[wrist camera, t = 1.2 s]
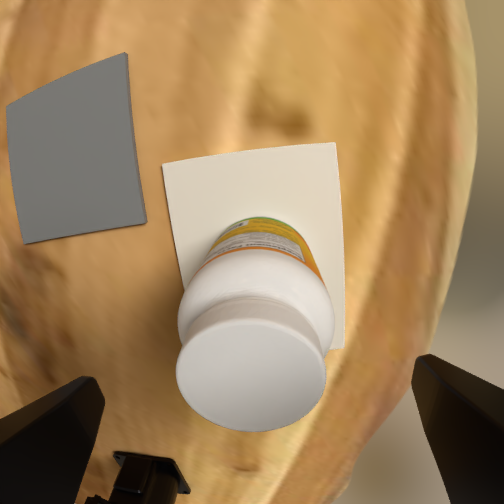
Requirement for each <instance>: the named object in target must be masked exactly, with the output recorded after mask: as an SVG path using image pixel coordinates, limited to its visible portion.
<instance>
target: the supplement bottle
mask: <svg viewBox="0 0 504 504" xmlns="http://www.w3.org/2000/svg"><path fill="white" fill-rule="evenodd" d="M334 330H335V316H334V309H333V306H332V302H331V299H330V296H329V293H328V291H327V288H326V286H325V284H324V281H323V279H322V277H321V274H320V272H319V269H318V267H317V265H316V263H315V260H314V258H313V255H312V253H311V251H310V249H309V246H308V245H307V243H306V241H305V240H304V238H303V237H302V235H301V234H300V233H299V232H298V231H297V230H296V229H295V228H293V227H292V226H291V225H289V224H287V223H286V222H283V221H281V220H279V219H276V218H272V217H266V216H255V217H249V218H245V219H242V220H240V221H238V222H235V223H234V224H232V225H231V226H229V227H228V228H227V229H226V230H224V231H223V232H222V234H221V235H220V236H219V237H218V238H217V240H216V241H215V242H214V244H213V245H212V247H211V249H210V250H209V252H208V254H207V255H206V257H205V258H204V260H203V262H202V263H201V265H200V267H199V268H198V270H197V271H196V273H195V274H194V276H193V277H192V279H191V280H190V282H189V284H188V286H187V288H186V290H185V292H184V294H183V297H182V300H181V302H180V306H179V311H178V332H179V337H180V341H181V344H182V348H181V351H180V353H179V356H178V359H177V364H176V380H177V384H178V387H179V390H180V392H181V394H182V396H183V398H184V399H185V400H186V402H187V403H188V404H189V405H190V407H191V408H192V409H194V410H195V411H196V412H197V413H198V414H199V415H201V416H202V417H203V418H205V419H207V420H209V421H211V422H212V423H214V424H217V425H219V426H222V427H225V428H228V429H232V430H237V431H245V432H263V431H270V430H275V429H279V428H282V427H285V426H288V425H290V424H292V423H294V422H296V421H298V420H299V419H301V418H302V417H304V416H305V415H306V414H308V413H309V412H310V411H311V410H312V409H313V408H314V407H315V405H316V404H317V403H318V401H319V399H320V398H321V396H322V394H323V391H324V388H325V384H326V366H325V361H324V358H325V356H326V355H327V353H328V351H329V349H330V346H331V344H332V340H333V336H334Z"/></svg>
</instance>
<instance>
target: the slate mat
mask: <svg viewBox="0 0 504 504" xmlns="http://www.w3.org/2000/svg"><path fill="white" fill-rule="evenodd" d="M6 117H7V138H8V152H9V162H10V171H11V179H12V186H13V193H14V199H15V205H16V210H17V215H18V220H19V225H20V230H21V234H22V239H23V243H24V244H27V243H32V242H37V241H43V240H48V239H53V238H59V237H64V236H70V235H76V234H81V233H87V232H93V231H99V230H105V229H111V228H117V227H124V226H130V225H137V224H143V223H146V222H147V216H146V211H145V205H144V199H143V193H142V187H141V180H140V174H139V167H138V160H137V152H136V144H135V136H134V127H133V118H132V108H131V97H130V85H129V70H128V54H127V53H125V52H124V53H121V54H118V55H115V56H113V57H110V58H107V59H104V60H102V61H99V62H96V63H94V64H91V65H89V66H86V67H84V68H81V69H79V70H77V71H74V72H72V73H70V74H68V75H65V76H63V77H61V78H59V79H57V80H55V81H52V82H50V83H48V84H46V85H44V86H42V87H40V88H38V89H36V90H35V91H33V92H31V93H29V94H27V95H25V96H23V97H22V98H20V99H18V100H16V101H15V102H13V103H11V104H9V105H8V106H6Z"/></svg>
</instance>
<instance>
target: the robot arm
mask: <svg viewBox="0 0 504 504" xmlns="http://www.w3.org/2000/svg"><path fill="white" fill-rule="evenodd" d="M411 385H412V390H413V393H414V396H415V400H416V403H417V407H418V410H419V414H420V417H421V421H422V425H423V428H424V432H425V434H426V437H427V440H428V442H429V445H430V447H431V450H432V453H433V455H434V458H435V460H436V463H437V466H438V468H439V471H440V474H441V477H442V479H443V482H444V485H445V488H446V491H447V494H448V497H449V500H450V503H451V504H504V389H501V388H499V387H497V386H495V385H493V384H491V383H489V382H487V381H485V380H483V379H481V378H479V377H477V376H475V375H473V374H471V373H469V372H466V371H465V370H463V369H461V368H459V367H457V366H454V365H452V364H450V363H448V362H446V361H444V360H442V359H440V358H438V357H436V356H434V355H432V354H427V355H422V356H419V357H417V358H416V361H415V365H414V370H413V375H412V381H411ZM104 406H105V398H104V396H103V394H102V392H101V389H100V387H99V385H98V383H97V381H96V379H95V378H93V377H89V376H81V377H79V378H77V379H75V380H73V381H71V382H70V383H68V384H66V385H64V386H62V387H60V388H58V389H57V390H55V391H53V392H51V393H49V394H47V395H45V396H44V397H42V398H40V399H38V400H36V401H34V402H32V403H30V404H28V405H27V406H25V407H23V408H21V409H19V410H17V411H15V412H13V413H11V414H9V415H7V416H5V417H4V418H2V419H0V504H74V503H75V500H76V497H77V494H78V491H79V488H80V485H81V482H82V479H83V476H84V473H85V470H86V467H87V464H88V461H89V459H90V456H91V453H92V450H93V447H94V444H95V441H96V437H97V433H98V429H99V425H100V421H101V417H102V414H103V410H104ZM113 457H114V458H115V460H116V461H117V462H118V464H119V465H120V467H121V469H120V471H119V474H118V476H117V478H116V481H115V483H114V485H113V487H114V488H113V490H112V493H111V495H110V498H109V500H108V501H107V500H105V499H103V498H101V496H98V495H96V494H95V496H94V497H87V499H86V501H85V503H84V504H175V501H176V497H177V493H179V494H190V492H191V489H190V488H189V486H188V484H187V483H186V481H185V479H184V477H183V475H182V474H181V472H180V470H179V468H178V466H177V465H176V463H175V461H173V460H171V459H165V458H156V457H148V456H141V455H134V454H128V453H122V452H114V454H113Z"/></svg>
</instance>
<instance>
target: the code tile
mask: <svg viewBox="0 0 504 504" xmlns="http://www.w3.org/2000/svg"><path fill="white" fill-rule="evenodd" d="M162 168H163V175H164V181H165V188H166V194H167V200H168V207H169V213H170V218H171V224H172V230H173V235H174V241H175V246H176V251H177V256H178V262H179V267H180V272H181V276H182V281H183V286H184V291H185V290H186V288H187V286H188V284H189V282H190V280H191V279H192V277H193V276H194V274H195V273H196V271H197V270H198V268H199V267H200V265H201V263H202V262H203V260H204V258H205V257H206V255H207V254H208V252H209V250H210V249H211V247H212V245H213V244H214V242H215V241H216V240H217V238H218V237H219V236H220V235H221V234H222V232H223V231H224V230H226V229H227V228H228V227H229V226H231V225H232V224H234V223H235V222H238V221H240V220H242V219H245V218H249V217H255V216H266V217H272V218H276V219H279V220H281V221H283V222H286V223H287V224H289V225H291V226H292V227H293V228H295V229H296V230H297V231H298V232H299V233H300V234H301V235H302V237H303V238H304V240H305V241H306V243H307V245H308V246H309V249H310V251H311V253H312V255H313V258H314V260H315V263H316V265H317V267H318V269H319V272H320V274H321V277H322V279H323V281H324V284H325V286H326V288H327V291H328V293H329V296H330V299H331V302H332V306H333V309H334V316H335V330H334V336H333V340H332V344H331V346H330V349H329V350H333V349H340V348H344V344H345V272H344V243H343V224H342V208H341V194H340V182H339V171H338V161H337V151H336V142H332V143H317V144H304V145H292V146H282V147H272V148H263V149H255V150H247V151H239V152H232V153H224V154H218V155H211V156H205V157H198V158H192V159H187V160H181V161H175V162H170V163H165V164H162Z"/></svg>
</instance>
